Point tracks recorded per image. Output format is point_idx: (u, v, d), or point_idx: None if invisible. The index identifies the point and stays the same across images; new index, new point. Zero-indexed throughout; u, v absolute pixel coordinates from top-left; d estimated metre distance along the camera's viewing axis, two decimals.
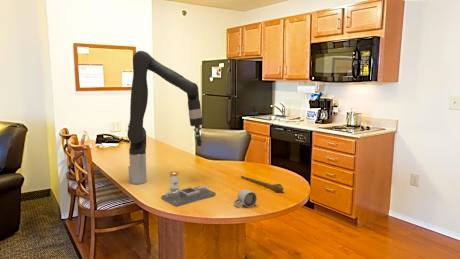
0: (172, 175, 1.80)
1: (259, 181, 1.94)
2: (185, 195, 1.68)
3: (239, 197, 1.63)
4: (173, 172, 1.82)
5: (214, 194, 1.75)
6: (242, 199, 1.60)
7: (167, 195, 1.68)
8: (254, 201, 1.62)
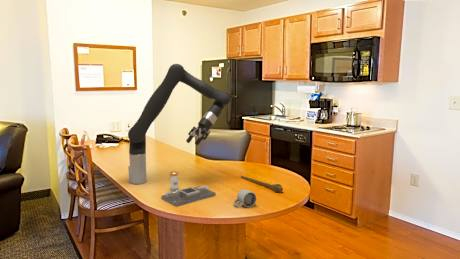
0: (172, 175, 1.80)
1: (259, 181, 1.94)
2: (185, 195, 1.68)
3: (239, 197, 1.63)
4: (173, 172, 1.82)
5: (214, 194, 1.75)
6: (241, 199, 1.59)
7: (167, 195, 1.68)
8: (254, 201, 1.62)
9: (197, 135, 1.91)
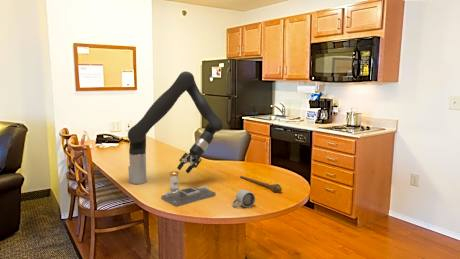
0: (172, 175, 1.80)
1: (258, 181, 1.94)
2: (185, 195, 1.68)
3: (237, 197, 1.62)
4: (173, 172, 1.82)
5: (214, 194, 1.75)
6: (240, 199, 1.59)
7: (167, 195, 1.68)
8: (252, 201, 1.62)
9: None
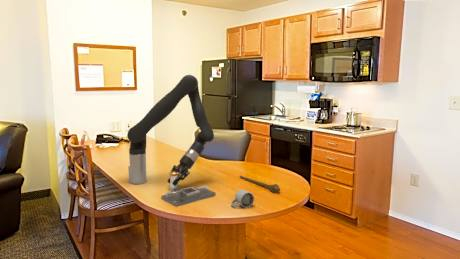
0: (172, 175, 1.80)
1: (257, 181, 1.94)
2: (185, 195, 1.68)
3: (236, 197, 1.62)
4: (173, 172, 1.82)
5: (214, 194, 1.75)
6: (239, 199, 1.59)
7: (167, 195, 1.68)
8: (251, 202, 1.62)
9: None
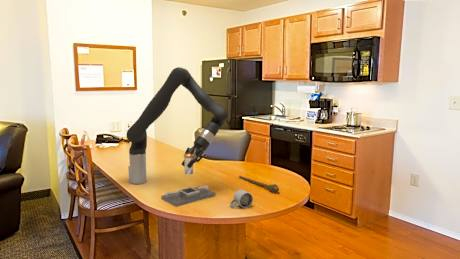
0: (187, 157, 1.69)
1: (256, 181, 1.94)
2: (185, 195, 1.68)
3: (235, 198, 1.62)
4: (187, 154, 1.71)
5: (214, 194, 1.75)
6: (238, 200, 1.59)
7: (167, 195, 1.68)
8: (250, 202, 1.61)
9: None
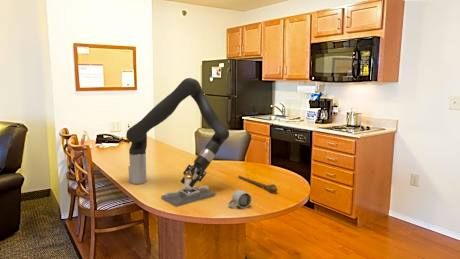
0: (187, 178, 1.70)
1: (255, 181, 1.94)
2: (185, 195, 1.68)
3: (233, 198, 1.61)
4: (188, 175, 1.71)
5: (214, 194, 1.75)
6: (236, 200, 1.58)
7: (167, 195, 1.68)
8: (249, 202, 1.61)
9: (193, 174, 1.75)
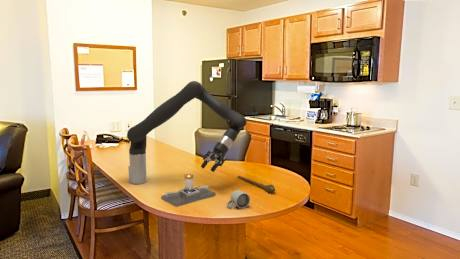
0: (187, 178, 1.70)
1: (253, 181, 1.94)
2: (185, 195, 1.68)
3: (232, 198, 1.61)
4: (188, 175, 1.72)
5: (214, 194, 1.75)
6: (235, 200, 1.58)
7: (167, 195, 1.68)
8: (247, 202, 1.61)
9: (212, 160, 1.82)
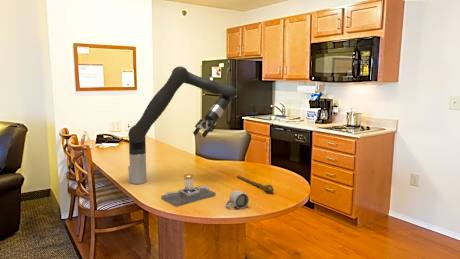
0: (187, 178, 1.69)
1: (252, 181, 1.93)
2: (185, 195, 1.68)
3: (231, 198, 1.61)
4: (188, 175, 1.71)
5: (214, 194, 1.75)
6: (234, 200, 1.58)
7: (167, 195, 1.68)
8: (246, 202, 1.60)
9: (204, 127, 1.94)
